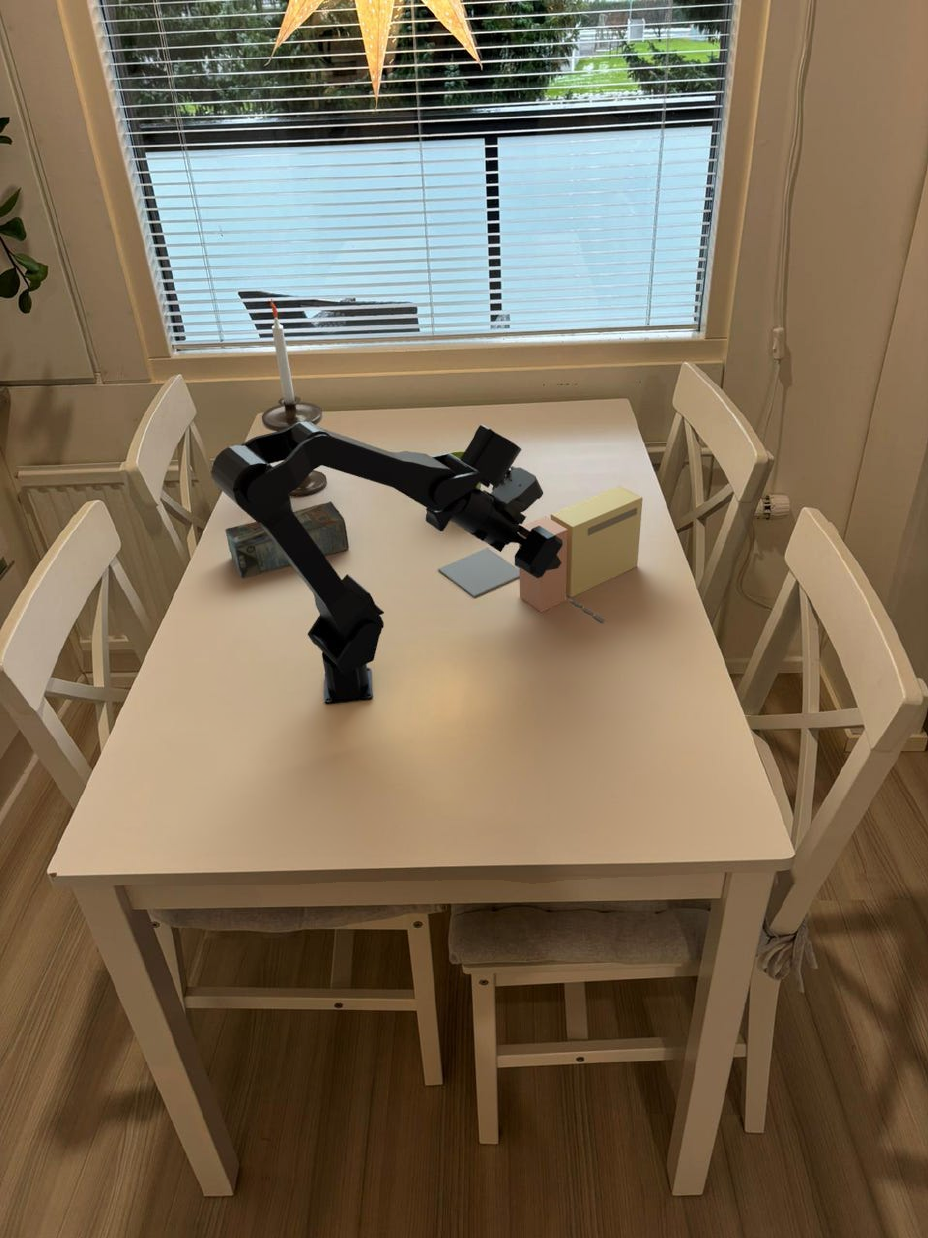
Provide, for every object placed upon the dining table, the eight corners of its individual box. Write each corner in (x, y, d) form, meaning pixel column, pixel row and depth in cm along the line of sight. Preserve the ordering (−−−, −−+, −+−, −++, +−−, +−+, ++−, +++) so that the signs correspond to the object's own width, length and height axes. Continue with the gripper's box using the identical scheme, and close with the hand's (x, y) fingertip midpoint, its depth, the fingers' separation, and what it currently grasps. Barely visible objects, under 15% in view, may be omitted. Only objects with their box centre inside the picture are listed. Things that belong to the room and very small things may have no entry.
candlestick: (268, 479, 179) (234, 296, 159) (322, 467, 183) (295, 286, 162) (283, 503, 171) (248, 313, 151) (339, 490, 175) (312, 302, 154)
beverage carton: (229, 557, 157) (222, 523, 153) (337, 530, 163) (332, 496, 159) (240, 580, 151) (233, 546, 147) (352, 551, 157) (347, 517, 153)
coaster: (474, 597, 144) (474, 595, 144) (438, 570, 150) (438, 568, 150) (524, 574, 148) (524, 573, 148) (487, 549, 155) (487, 547, 155)
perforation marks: (601, 622, 137) (601, 621, 137) (514, 564, 151) (514, 563, 151) (604, 621, 137) (604, 620, 137) (517, 562, 151) (517, 561, 151)
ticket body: (571, 597, 142) (572, 527, 135) (549, 583, 146) (550, 513, 139) (637, 566, 149) (642, 497, 141) (615, 553, 152) (619, 485, 145)
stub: (540, 612, 140) (540, 540, 132) (519, 597, 143) (518, 527, 136) (565, 600, 142) (567, 529, 135) (544, 585, 145) (545, 516, 138)
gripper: (551, 485, 119) (612, 530, 130) (467, 438, 131) (529, 483, 143) (504, 558, 120) (568, 597, 131) (425, 504, 132) (489, 544, 144)
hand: (538, 552), depth 137 cm, fingers open, 9 cm apart
